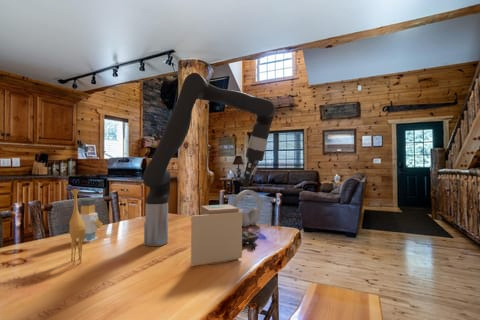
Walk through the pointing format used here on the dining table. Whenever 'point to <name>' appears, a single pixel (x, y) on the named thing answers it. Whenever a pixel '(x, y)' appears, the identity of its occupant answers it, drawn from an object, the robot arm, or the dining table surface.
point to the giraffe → (76, 228)
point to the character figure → (90, 219)
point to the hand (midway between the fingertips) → (247, 184)
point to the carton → (218, 210)
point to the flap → (216, 237)
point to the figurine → (249, 238)
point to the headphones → (253, 213)
